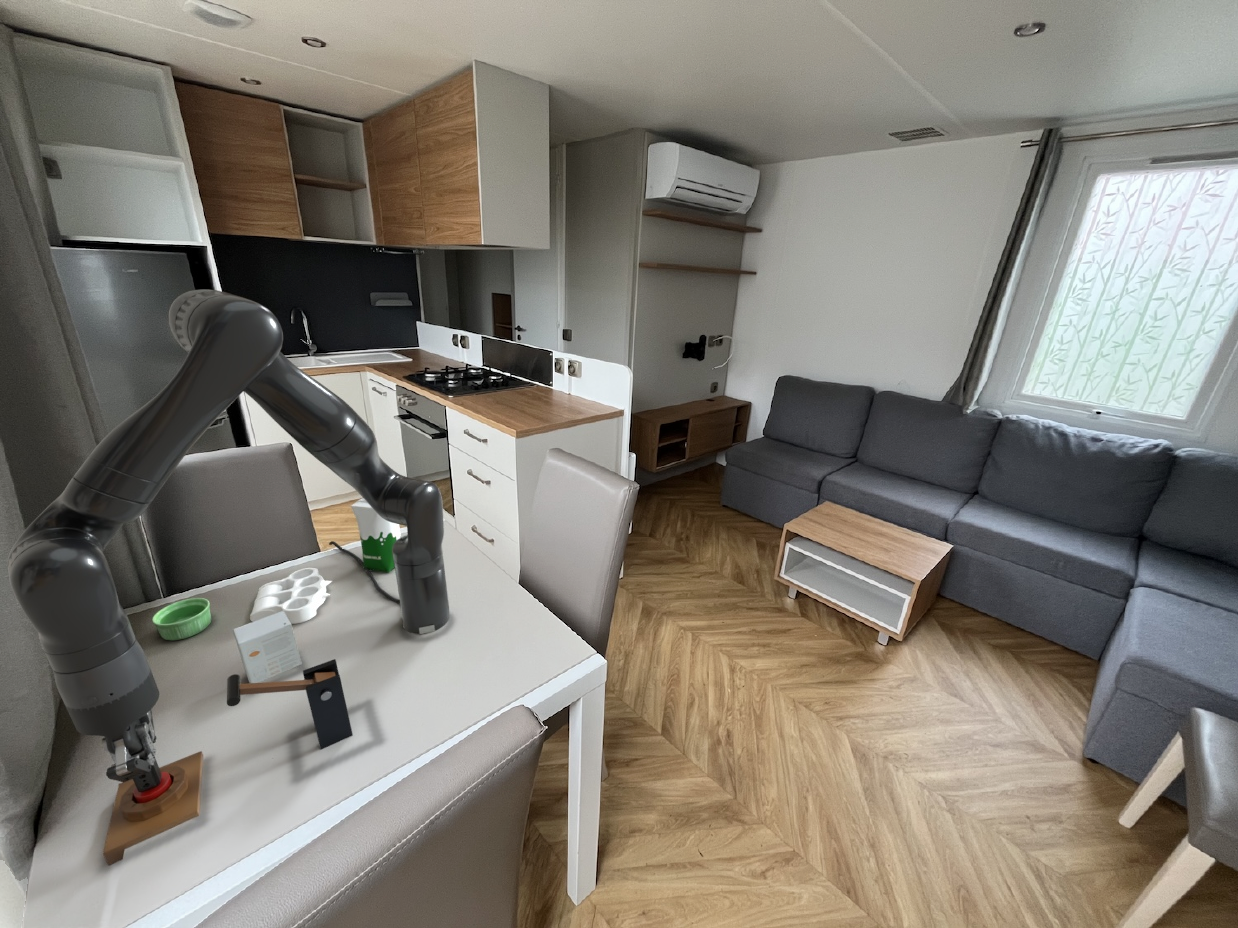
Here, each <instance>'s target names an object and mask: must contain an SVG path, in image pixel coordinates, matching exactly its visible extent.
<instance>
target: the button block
mask: <svg viewBox="0 0 1238 928" xmlns="http://www.w3.org/2000/svg"><path fill="white" fill-rule="evenodd" d="M203 766H204V753H203V751H202V750H201V751H197V752H195V753H193V754H191V755H188V756H185V757H183V758H180V759H178V760H175V761H173V762H171V763H167V764H166V765H163V766H159V769H160V771H161V772H167V773H168V774H169V775H170V778H171V780H172V783H173V784H172V785H171V786H170V787H169V789H168V790H167V791H166V792H165V793H163V794H162V795H160V796H159V797H158V798H156V799H154V800H151V801H149V802H147V803H137V801H136V799H135V796H134V790H135V788H136V785H135V783H134V781H133V779H131V780H129V781H126V782H120V783H119V784H118V786H117V791H116V794H115V800H114V803H113V808H112V812H111V815H110V816H111V817H110V820H109V821H110V822H109V826H108V830H107V834H106V838H105V843H104V847H103V851H102V855H103V857H104V859H105V861H106V863H107V865H108V866H111V865H113V864H116V863H118V862H120V861H123V860H124V855H125V851H126V849H129V848H131V847H133V846H135V845H138V844H140V843H143V842H144V841H146V840H148V839H151V838H153V837H155V836H157V835H159V834H162V833H164V832H166V831H169V830H172V828H175V827H177V826H179V825H182V824H184V823H187V822H189V821H190V820H193V819H194V818H197V817H199V816H200V810H201V809H200V808H201V795H202V782H203V781H202V780H203Z"/></svg>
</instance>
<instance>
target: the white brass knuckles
mask: <svg viewBox="0 0 1238 928" xmlns="http://www.w3.org/2000/svg"><path fill="white" fill-rule="evenodd" d="M332 582H333V580H326V579H324V577H323V576H322V575H320V571H319V569H318V568H316V567H305V568H300V569H298V570H295V571H293V572H292V573H290V574H289V575H288V576H287V577H284V578H282V579H279V580H273V581H270V582H267V583H264V584H263V585H262V586H260V587H259V588H258V590H257V591H258V592H257V594H256V595H257V596H256V598H255V600H254V601H253V608H252V611H251V613H250V614H249V619H250V621H251V622H254V621H257V620H259V619H262V618H265V617H267V616H270V615H273V614H276V613H278V612H281V611H284V612H285V614H286V616H287V618H288V619H289V621H290V623H291V624H292V625H297V624H301V623H302V624H303V623H304V622H307V621H309V620H311V619H313V618H314V617H315V616H316V615H317V610H318V608H319V607H320V606H322V605H323V604H324V602H325V601H326V599H327V598H328V597H330V596H331V594H330V593H328V592H327V587H328V586H329V585H330V584H331V583H332Z"/></svg>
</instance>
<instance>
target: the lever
mask: <svg viewBox="0 0 1238 928" xmlns="http://www.w3.org/2000/svg"><path fill="white" fill-rule="evenodd" d="M333 676H336V675H335V672H323V673H315V674H314V676H313V679H310V680H305V679H296V680H282V681H265V682H264V681H263V682H260V683H250V682H249V683H241V676H240V675H239V674H237V673H235V674H231V675H230V676H228V677H227V680H226V706H228V707H235V706H237V705H240V703H241V696H247V695H258V694H271V693H272V694H273V693H284V692H285V693H287V692H297V691H298V692H299V691H306V687H307V686H309V685H312V684H315V683H317V682H320V681H323V680H325V679H328V678H331V677H333Z"/></svg>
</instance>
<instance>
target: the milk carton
mask: <svg viewBox="0 0 1238 928" xmlns="http://www.w3.org/2000/svg"><path fill="white" fill-rule="evenodd" d="M350 508H351V510H352V512H353V514H354V516H355V519H356V522H357V528H358V532H359V533H358V534H359V540H360V543H361V551H362V561H363V566H364V567H363V566H362V567H363V570H364V571H366V570H365V569H364V568H365V567H367V568H368V569H369V570H370V571H374V572H381V573H382V572H383V573H390V572H391V571H392V570H394V569H395V567H394V560H393V554H392V546H393V544H394V543H395V541H396V540H398V539H399V538H401V537H402V535H401V529H400V524H396V523H392V522H389V521H387V520H385V519H383V518H382V517H381V516H379V515H378V514H377V513H376V512H375V511H374V509H373V508H372V507H371V506H370V505H369V504H368V503H367V502H366V500H365V499H364V498H363V497H362V498H360V499H358V500H357V501H356V502H354V503H353V504H350Z"/></svg>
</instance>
